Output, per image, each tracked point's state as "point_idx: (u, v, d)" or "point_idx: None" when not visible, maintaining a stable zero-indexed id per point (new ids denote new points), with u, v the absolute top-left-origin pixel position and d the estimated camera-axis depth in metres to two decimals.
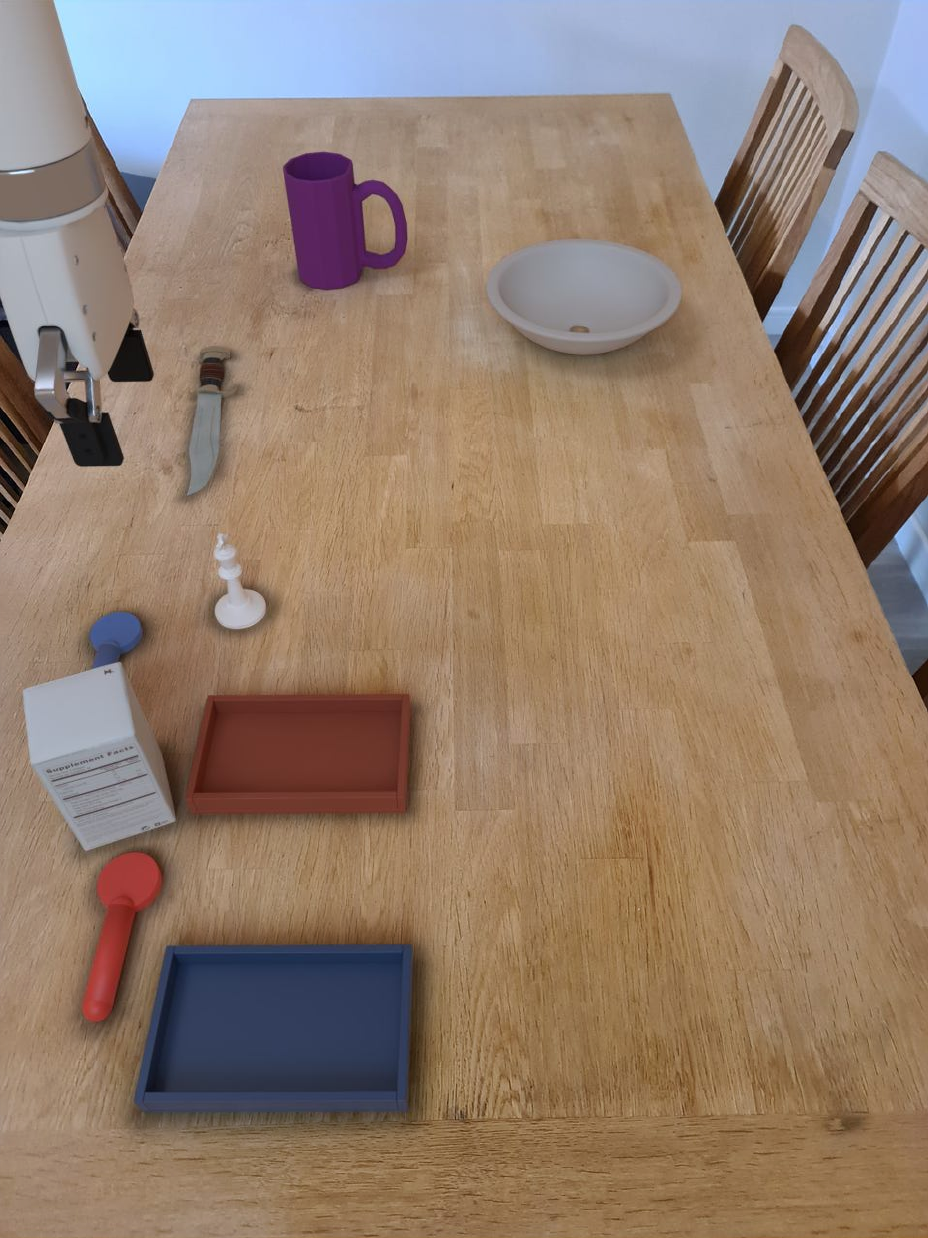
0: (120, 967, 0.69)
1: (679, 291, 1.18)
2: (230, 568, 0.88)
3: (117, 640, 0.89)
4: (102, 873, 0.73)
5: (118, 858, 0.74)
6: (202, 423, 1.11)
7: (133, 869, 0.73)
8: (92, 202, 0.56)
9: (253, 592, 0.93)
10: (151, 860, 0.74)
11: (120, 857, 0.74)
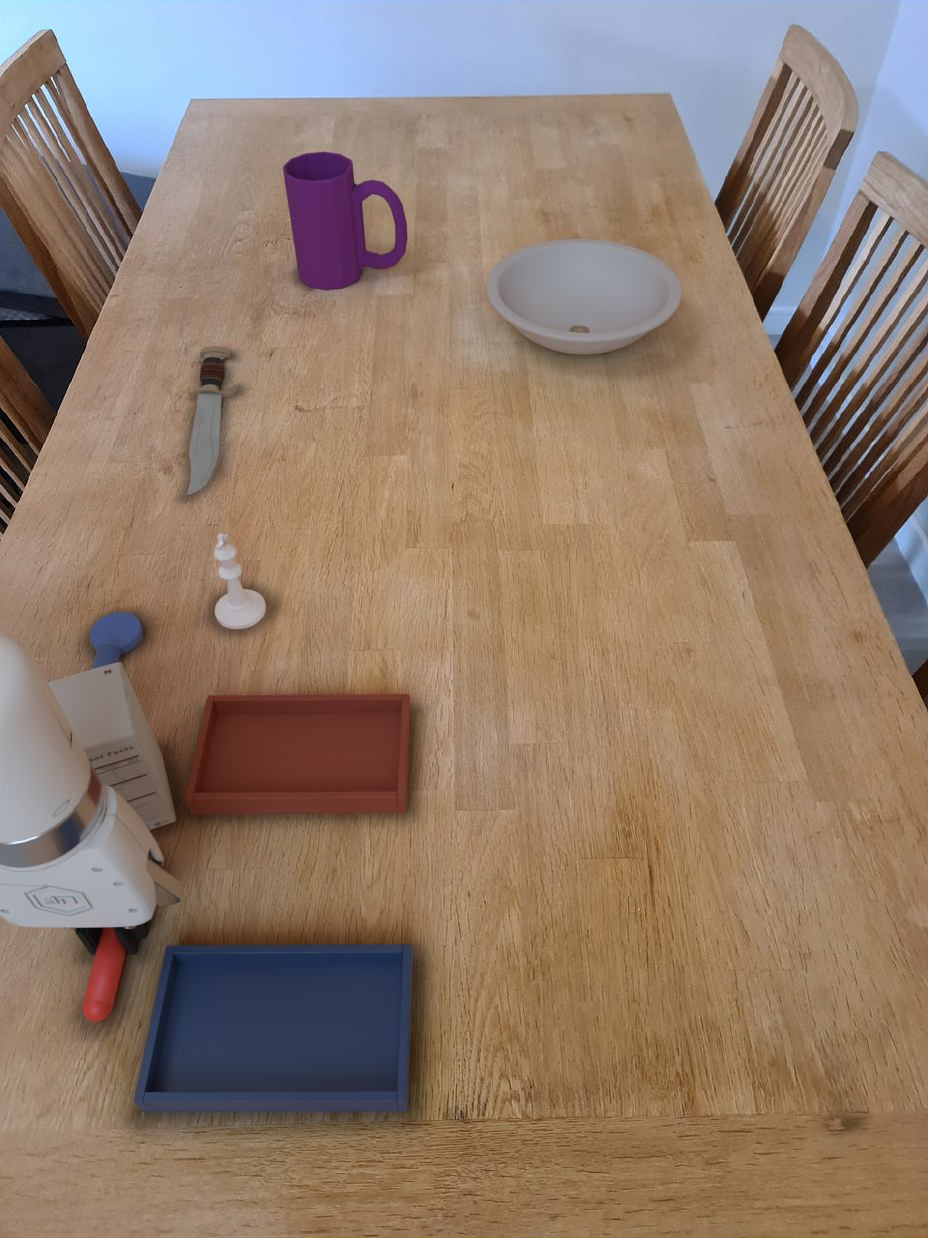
0: (120, 967, 0.69)
1: (679, 291, 1.18)
2: (230, 568, 0.88)
3: (117, 640, 0.89)
4: None
5: None
6: (202, 423, 1.11)
7: None
8: None
9: (253, 592, 0.93)
10: None
11: None
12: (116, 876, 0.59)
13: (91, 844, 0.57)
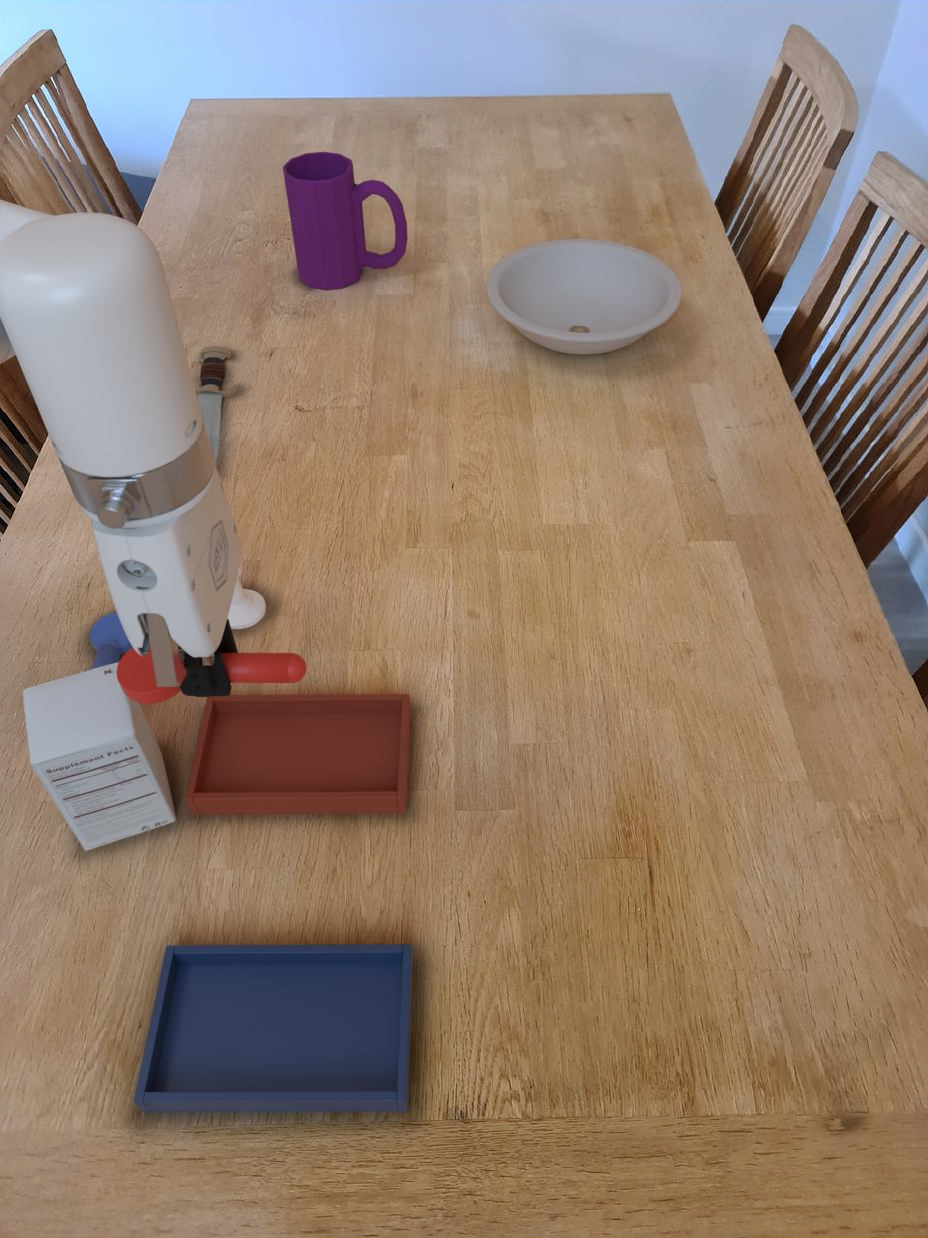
0: None
1: (679, 291, 1.18)
2: None
3: (117, 640, 0.89)
4: (136, 689, 0.63)
5: (120, 678, 0.64)
6: None
7: (139, 663, 0.65)
8: None
9: (253, 592, 0.93)
10: (132, 649, 0.65)
11: (119, 677, 0.64)
12: (217, 473, 0.58)
13: None
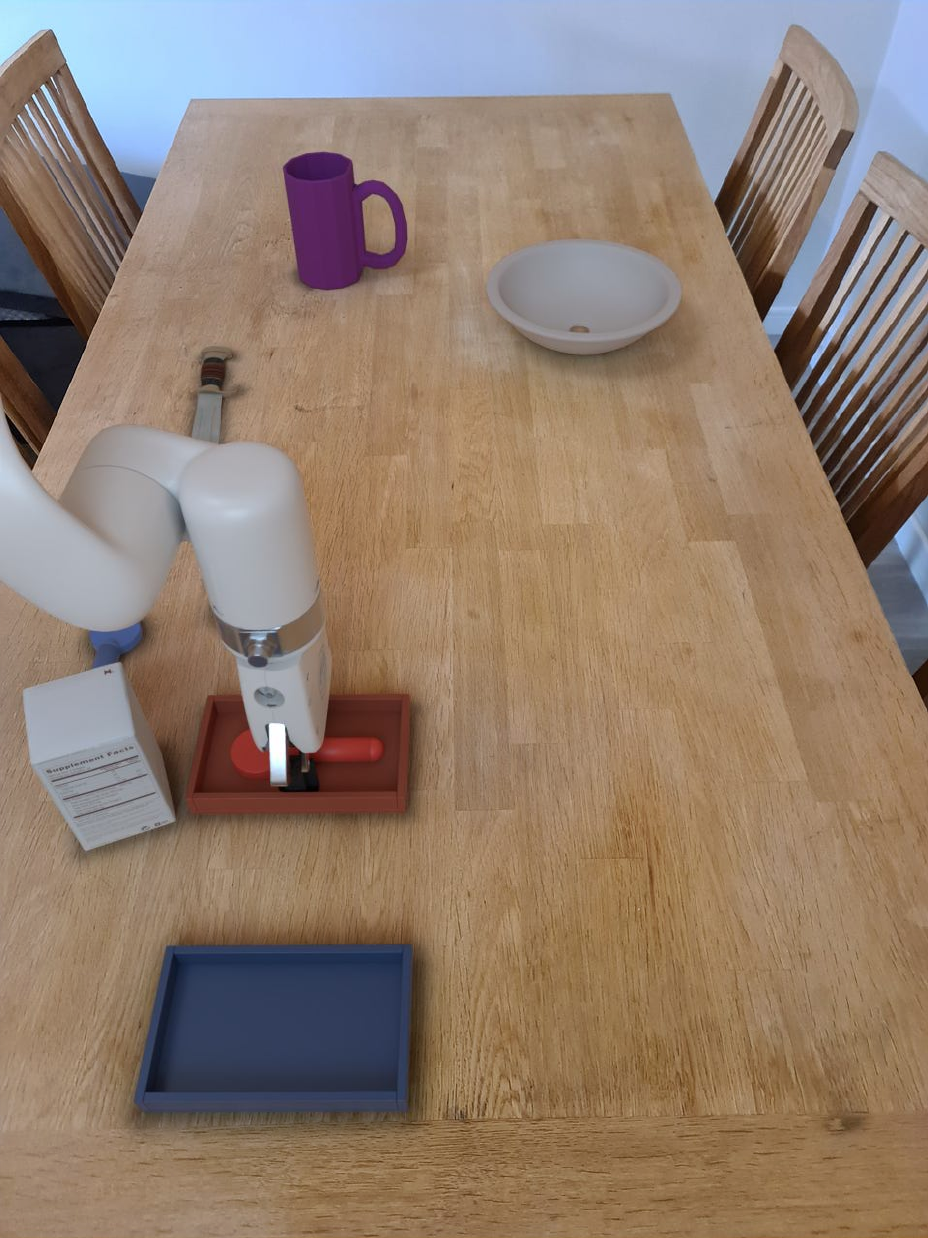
0: None
1: (679, 291, 1.18)
2: None
3: (117, 640, 0.89)
4: (248, 769, 0.78)
5: (234, 760, 0.79)
6: (202, 423, 1.11)
7: (248, 747, 0.80)
8: None
9: None
10: (241, 734, 0.81)
11: (233, 759, 0.79)
12: None
13: None
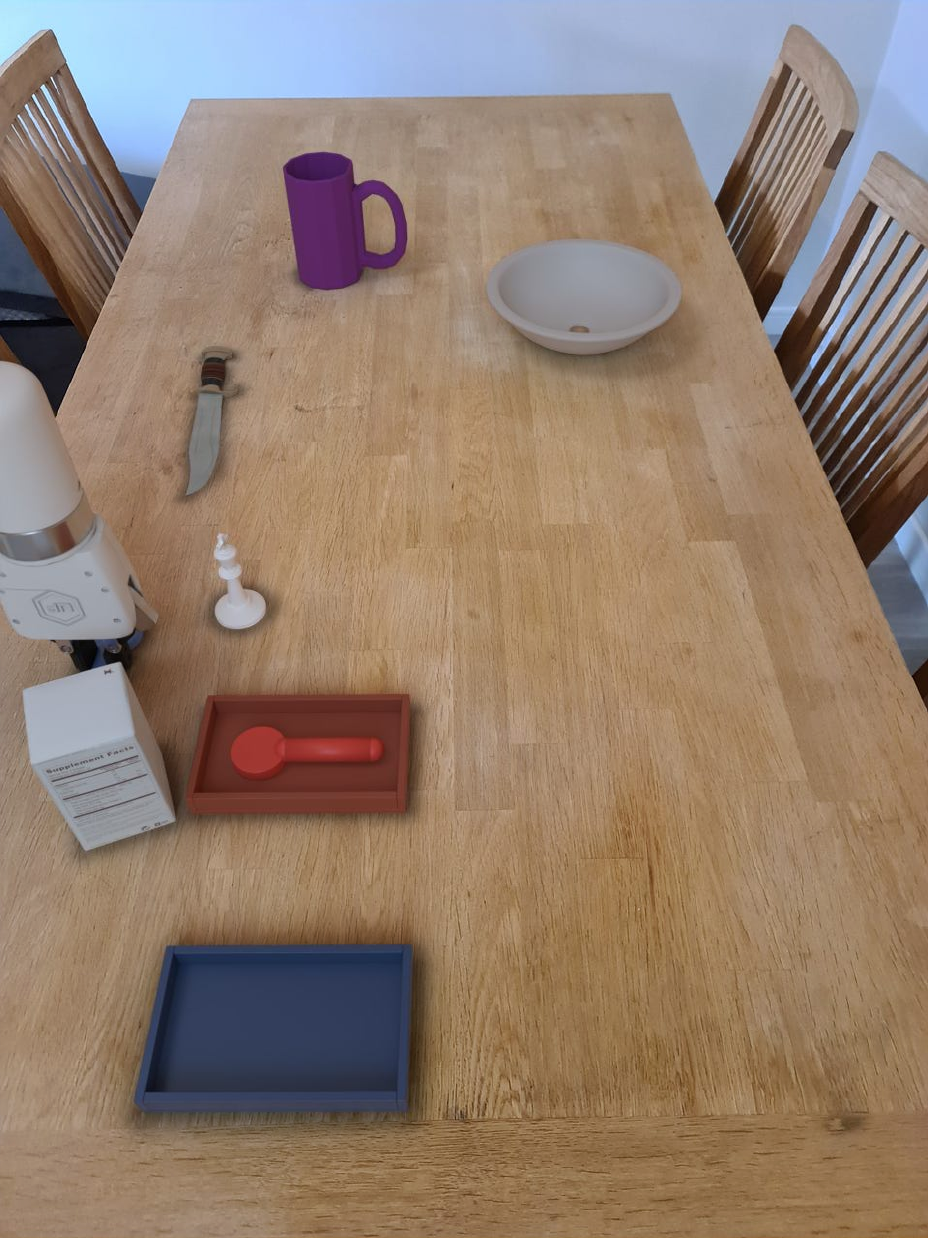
0: None
1: (679, 291, 1.18)
2: (230, 568, 0.88)
3: None
4: (248, 769, 0.78)
5: (234, 760, 0.79)
6: (202, 423, 1.11)
7: (248, 747, 0.80)
8: None
9: (253, 592, 0.93)
10: (241, 734, 0.81)
11: (233, 759, 0.79)
12: (104, 581, 0.76)
13: (84, 549, 0.74)
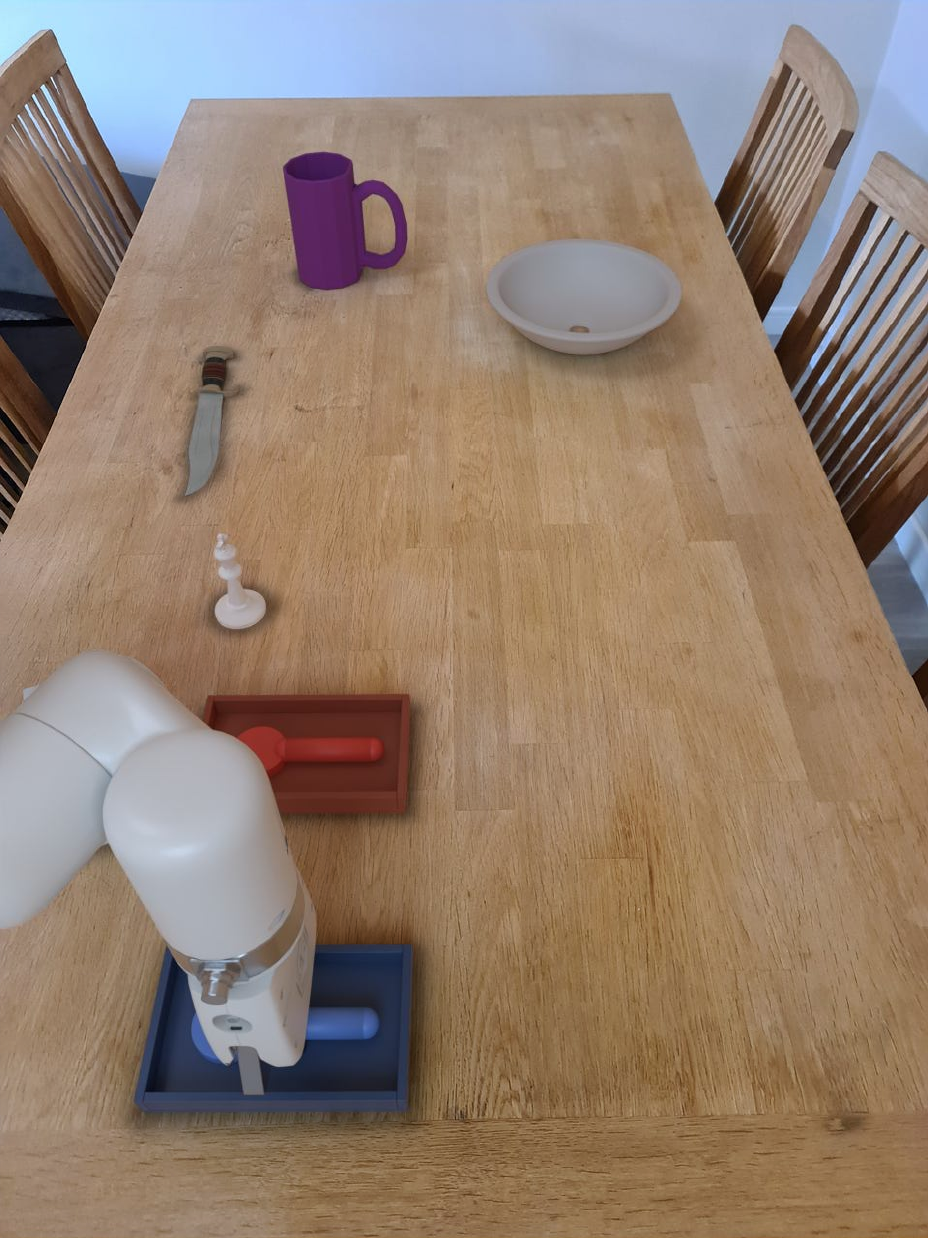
0: None
1: (679, 291, 1.18)
2: (230, 568, 0.88)
3: None
4: None
5: None
6: (203, 423, 1.11)
7: None
8: None
9: (253, 592, 0.93)
10: (241, 734, 0.81)
11: None
12: (299, 872, 0.58)
13: None
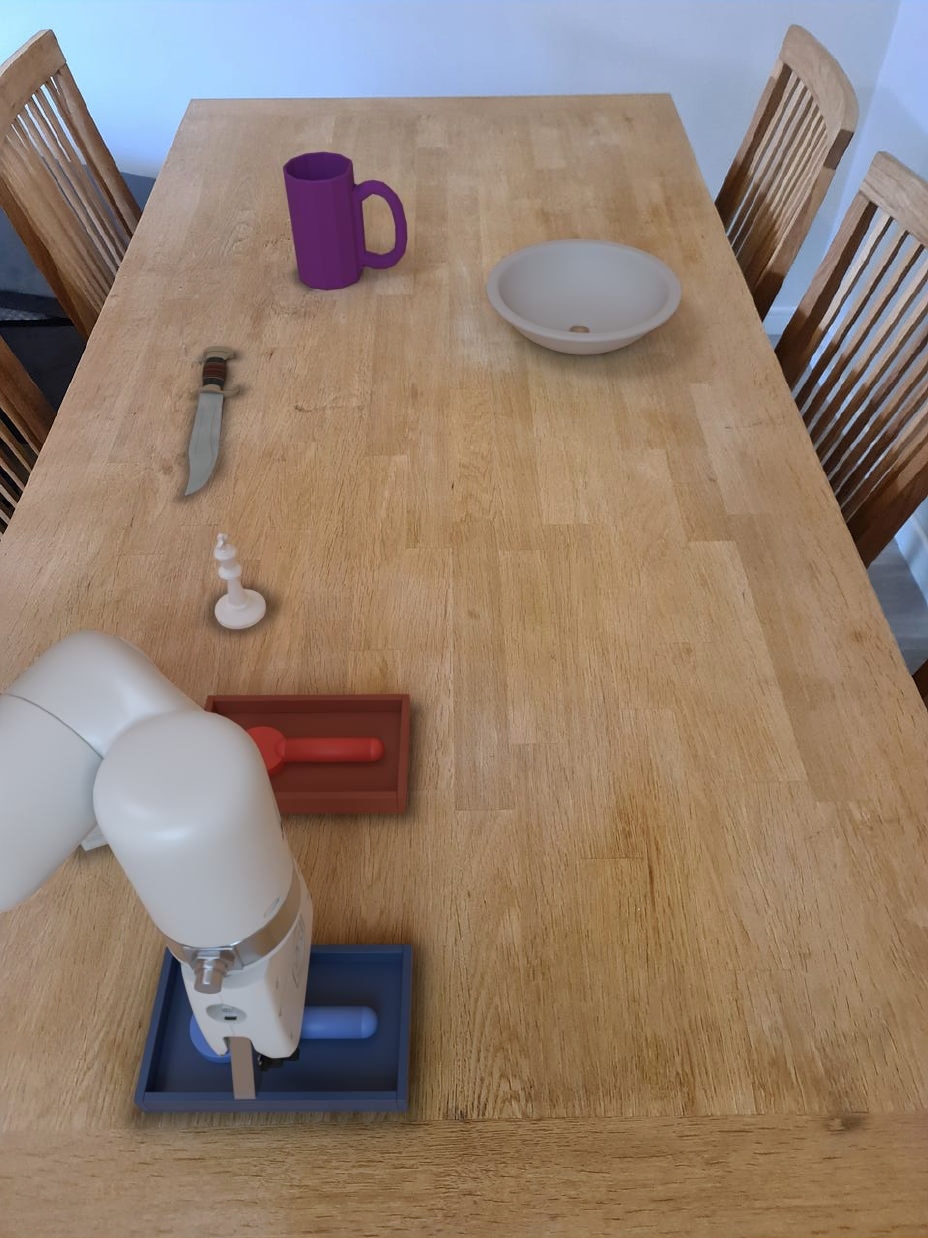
0: None
1: (679, 291, 1.18)
2: (230, 568, 0.88)
3: None
4: None
5: None
6: (203, 423, 1.11)
7: None
8: None
9: (253, 592, 0.93)
10: None
11: None
12: (295, 860, 0.57)
13: None
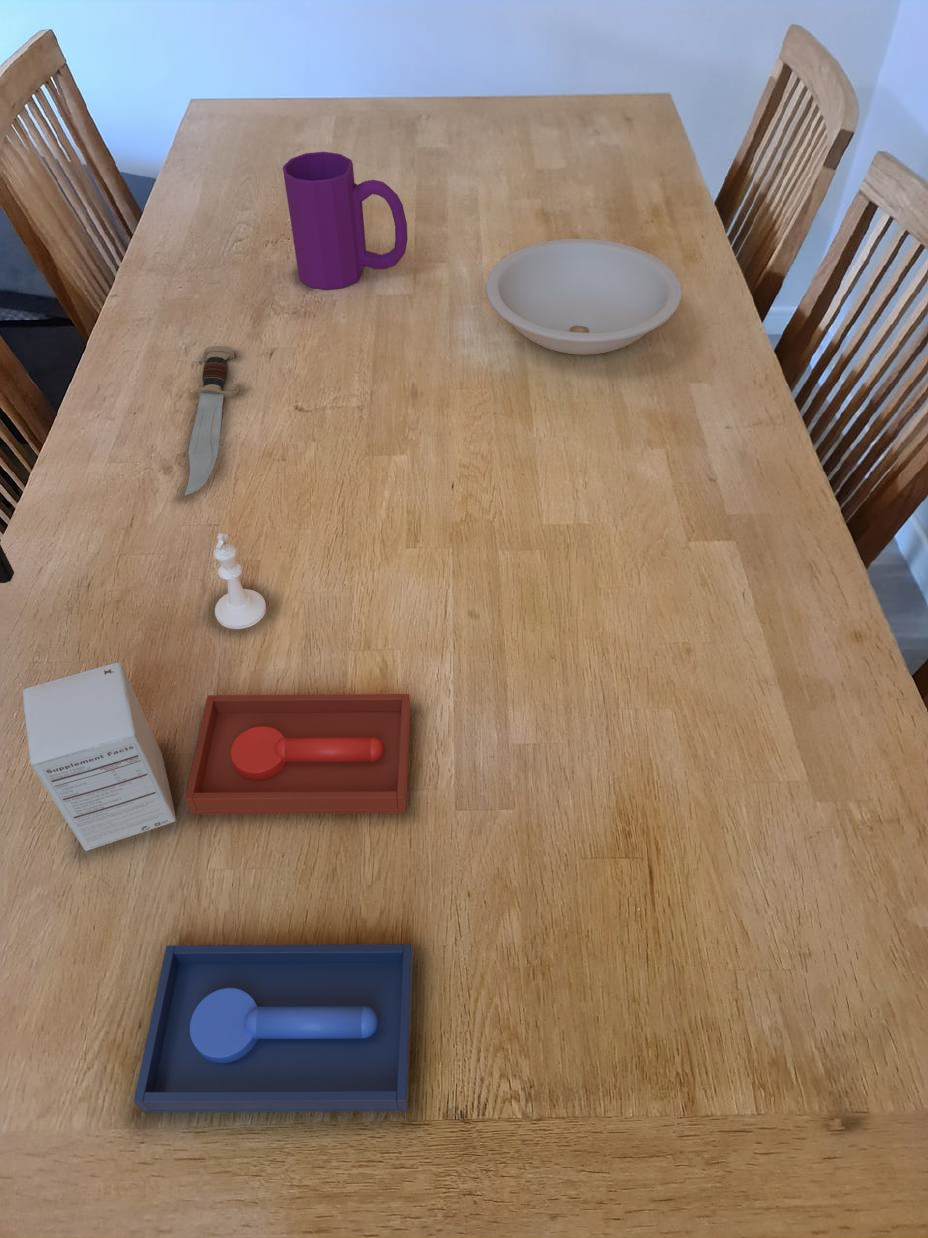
0: None
1: (679, 291, 1.18)
2: (230, 568, 0.88)
3: (244, 1013, 0.65)
4: (248, 769, 0.78)
5: (234, 760, 0.79)
6: (203, 423, 1.11)
7: (248, 747, 0.80)
8: None
9: (253, 592, 0.93)
10: (241, 734, 0.81)
11: (233, 759, 0.79)
12: None
13: None
